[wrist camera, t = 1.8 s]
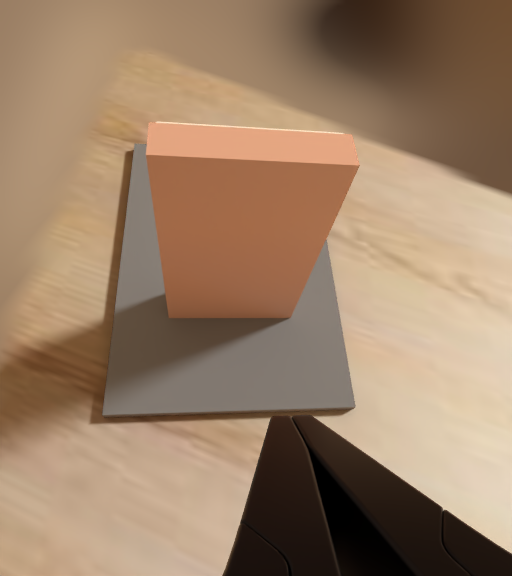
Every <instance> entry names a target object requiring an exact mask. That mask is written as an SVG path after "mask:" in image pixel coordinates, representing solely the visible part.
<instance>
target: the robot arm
mask: <svg viewBox="0 0 512 576" xmlns="http://www.w3.org/2000/svg"><path fill="white" fill-rule="evenodd" d="M222 576H512V554H511V553H510V552H508V551H506V550H505V549H503V548H502V547H500V546H498V545H497V544H495V543H494V542H492V541H491V540H489V539H488V538H486V537H485V536H483V535H482V534H481V533H479V532H478V531H476V530H475V529H473V528H472V527H470V526H469V525H467V524H466V523H464V522H463V521H461V520H460V519H459V518H457V517H456V516H454V515H453V514H451V513H450V512H449V511H447V510H444V511H443V508H442V507H441V506H440V505H438V504H437V503H435V502H434V501H433V500H431V499H430V498H428V497H427V496H425V495H424V494H423V493H421V492H420V491H418V490H417V489H415V488H414V487H413V486H411V485H410V484H408V483H407V482H405V481H404V480H403V479H401V478H400V477H398V476H397V475H396V474H394V473H393V472H391V471H390V470H388V469H387V468H386V467H384V466H383V465H381V464H380V463H378V462H377V461H376V460H374V459H373V458H371V457H370V456H368V455H367V454H366V453H364V452H363V451H361V450H360V449H358V448H357V447H356V446H354V445H353V444H351V443H350V442H348V441H347V440H346V439H344V438H343V437H341V436H340V435H338V434H337V433H336V432H334V431H333V430H331V429H330V428H328V427H327V426H326V425H324V424H323V423H321V422H320V421H318V420H317V419H316V418H314V417H313V416H311V415H296V416H293V417H292V418H291V417H290V416H273V417H271V419H270V422H269V426H268V429H267V433H266V436H265V440H264V443H263V446H262V450H261V453H260V457H259V460H258V464H257V467H256V471H255V474H254V477H253V481H252V484H251V488H250V491H249V495H248V498H247V502H246V505H245V508H244V512H243V515H242V519H241V522H240V525H239V528H238V531H237V535H236V538H235V542H234V545H233V548H232V551H231V554H230V556H229V559H228V562H227V565H226V568H225V571H224V573H223V575H222Z"/></svg>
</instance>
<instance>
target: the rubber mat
mask: <svg viewBox="0 0 512 576" xmlns="http://www.w3.org/2000/svg"><path fill="white" fill-rule="evenodd" d="M146 148H147V144H135V145H134V153H133V161H132V170H131V178H130V187H129V195H128V203H127V212H126V220H125V228H124V237H123V245H122V254H121V262H120V270H119V279H118V287H117V295H116V304H115V312H114V321H113V329H112V337H111V346H110V354H109V362H108V371H107V379H106V387H105V396H104V404H103V413H102V415H103V416H104V417H127V416H159V415H190V414H221V413H253V412H284V411H315V410H347V409H354V408H355V401H354V395H353V390H352V384H351V378H350V372H349V367H348V361H347V355H346V349H345V343H344V338H343V332H342V326H341V320H340V314H339V309H338V303H337V297H336V291H335V286H334V280H333V274H332V268H331V262H330V257H329V251H328V245H327V239H326V241H325V243H324V245H323V247H322V250H321V252H320V254H319V256H318V259H317V261H316V263H315V265H314V267H313V270H312V272H311V274H310V276H309V278H308V281H307V283H306V285H305V287H304V290H303V292H302V294H301V296H300V298H299V301H298V303H297V305H296V307H295V309H294V312H293V314H292V316H291V318H169V316H168V308H167V301H166V294H165V287H164V280H163V273H162V266H161V259H160V252H159V245H158V237H157V230H156V223H155V216H154V209H153V202H152V195H151V188H150V181H149V174H148V166H147V159H146Z"/></svg>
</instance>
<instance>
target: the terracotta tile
mask: <svg viewBox="0 0 512 576" xmlns="http://www.w3.org/2000/svg"><path fill="white" fill-rule="evenodd" d="M146 159H147V166H148V174H149V181H150V188H151V195H152V202H153V209H154V216H155V223H156V230H157V237H158V245H159V252H160V259H161V266H162V273H163V280H164V287H165V294H166V301H167V308H168V316H169V318H291V316H292V314H293V312H294V309H295V307H296V305H297V303H298V301H299V298H300V296H301V294H302V292H303V290H304V287H305V285H306V283H307V281H308V278H309V276H310V274H311V272H312V270H313V267H314V265H315V263H316V261H317V259H318V256H319V254H320V252H321V250H322V247H323V245H324V243H325V241H326V239H327V236H328V234H329V232H330V230H331V228H332V225H333V223H334V221H335V219H336V217H337V214H338V212H339V210H340V208H341V205H342V203H343V201H344V199H345V197H346V194H347V192H348V190H349V188H350V186H351V183H352V181H353V179H354V177H355V174H356V172H357V170H358V168H359V166H360V165H359V161H358V157H357V153H356V149H355V145H354V141H353V137H352V135H350V134H344V133H335V132H319V131H303V130H286V129H270V128H253V127H237V126H221V125H204V124H188V123H171V122H156V123H153V122H149V128H148V138H147V148H146Z"/></svg>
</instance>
